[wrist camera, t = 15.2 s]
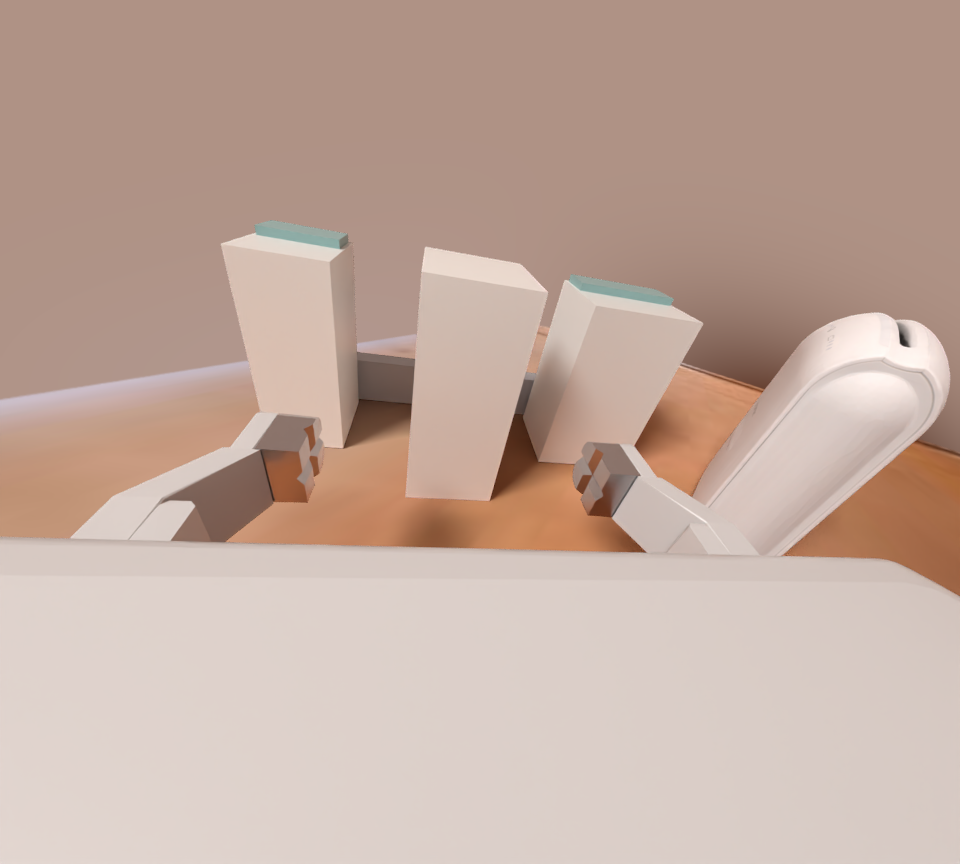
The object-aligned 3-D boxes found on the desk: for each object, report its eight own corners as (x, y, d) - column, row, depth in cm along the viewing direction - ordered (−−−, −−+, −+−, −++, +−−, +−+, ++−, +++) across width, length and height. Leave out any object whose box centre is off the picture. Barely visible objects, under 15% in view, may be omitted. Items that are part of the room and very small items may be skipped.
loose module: (480, 442, 23) (520, 263, 16) (489, 500, 19) (548, 292, 12) (411, 436, 22) (425, 246, 15) (405, 497, 18) (421, 271, 11)
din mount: (587, 412, 28) (643, 282, 22) (621, 467, 23) (707, 315, 17) (304, 384, 24) (281, 215, 18) (267, 443, 19) (217, 232, 13)
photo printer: (702, 463, 25) (830, 292, 18) (767, 497, 23) (939, 320, 16) (664, 542, 18) (848, 315, 11) (752, 599, 16) (1041, 368, 9)
